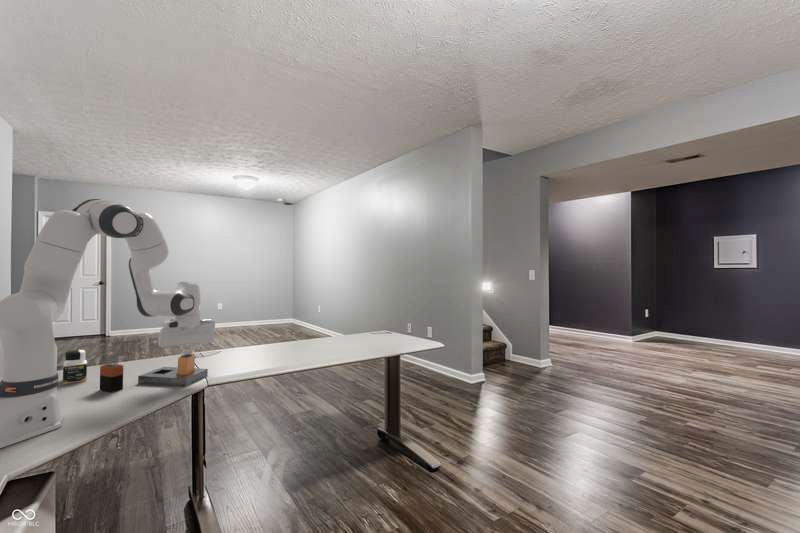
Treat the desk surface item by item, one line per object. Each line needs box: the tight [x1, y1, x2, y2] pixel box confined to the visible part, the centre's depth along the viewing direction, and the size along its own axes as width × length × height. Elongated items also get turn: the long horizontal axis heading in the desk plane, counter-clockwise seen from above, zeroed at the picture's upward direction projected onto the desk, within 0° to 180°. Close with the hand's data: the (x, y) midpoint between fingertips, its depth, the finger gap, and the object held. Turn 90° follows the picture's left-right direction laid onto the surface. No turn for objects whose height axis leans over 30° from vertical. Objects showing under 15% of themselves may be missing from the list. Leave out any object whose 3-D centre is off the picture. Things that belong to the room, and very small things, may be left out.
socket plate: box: [137, 366, 209, 386], centre depth 153 cm, size 14×20×3 cm
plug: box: [177, 353, 196, 375], centre depth 153 cm, size 5×4×10 cm
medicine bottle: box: [62, 349, 88, 385], centre depth 149 cm, size 7×7×12 cm
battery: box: [99, 361, 124, 393], centre depth 139 cm, size 4×7×10 cm, turn 70°
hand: (187, 354), depth 153 cm, fingers closed, pressing on plug
